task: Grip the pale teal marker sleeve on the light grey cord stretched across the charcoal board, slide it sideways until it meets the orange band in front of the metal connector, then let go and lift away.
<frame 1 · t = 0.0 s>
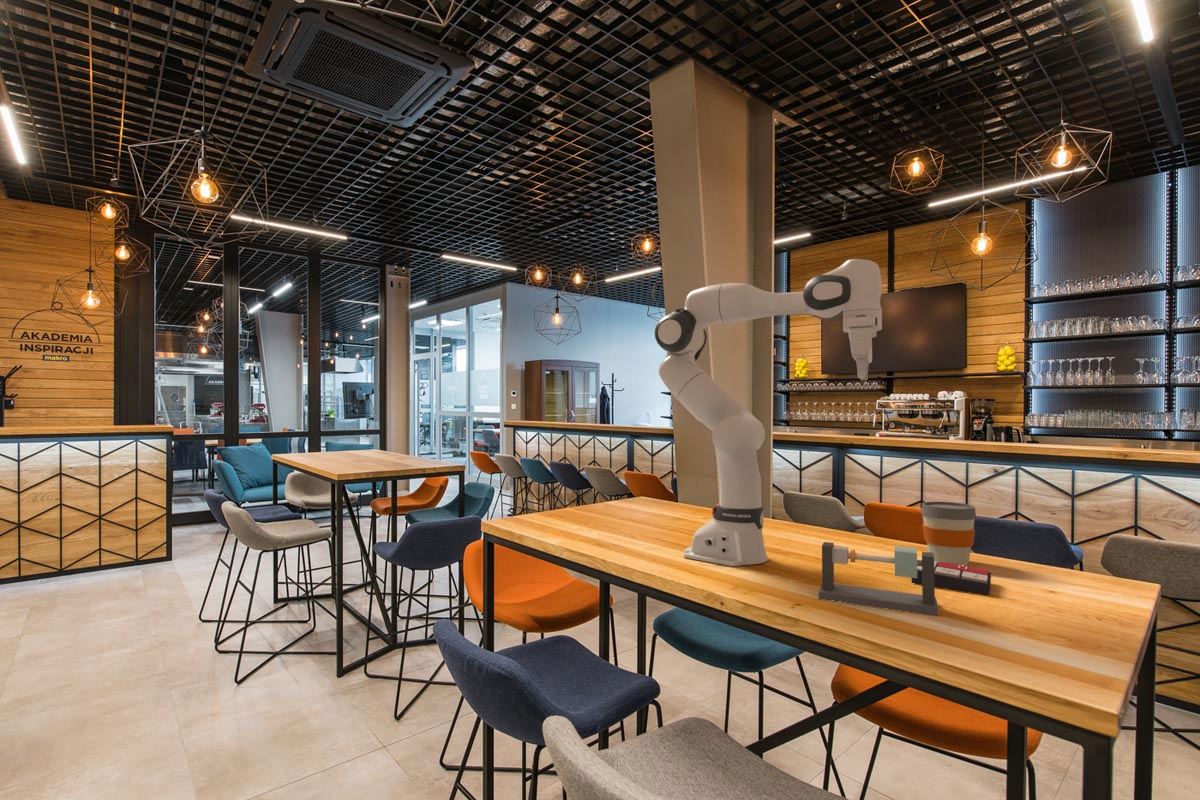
hand: (862, 379, 142), 48 cm above the table, tool pointing down, fingers open, 8 cm apart
cord board: (876, 601, 120), on the table
reusable coffee cup: (948, 562, 152), on the table
calculator: (951, 586, 133), on the table
marker sleeve: (905, 561, 118), point 9 cm above the table, slide at 5.5 cm
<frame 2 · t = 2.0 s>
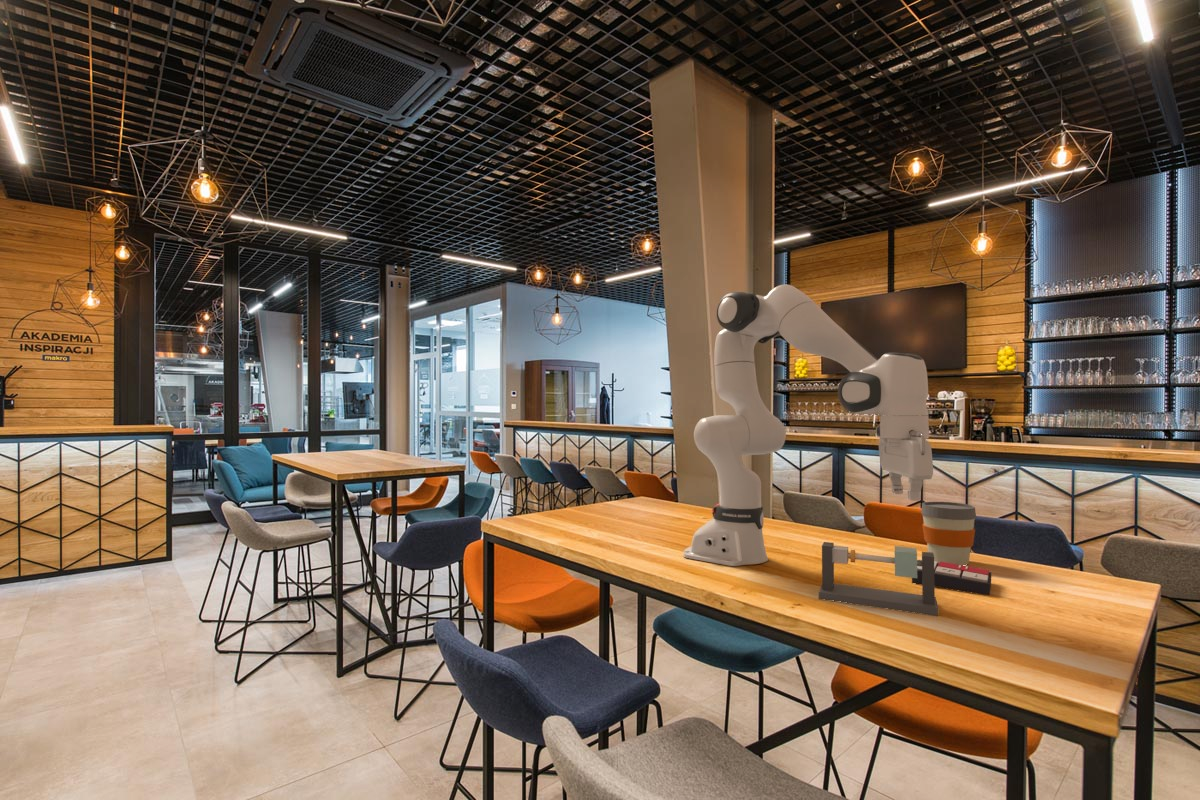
hand: (905, 496, 118), 22 cm above the table, tool pointing down, fingers open, 8 cm apart
nothing on the table moved.
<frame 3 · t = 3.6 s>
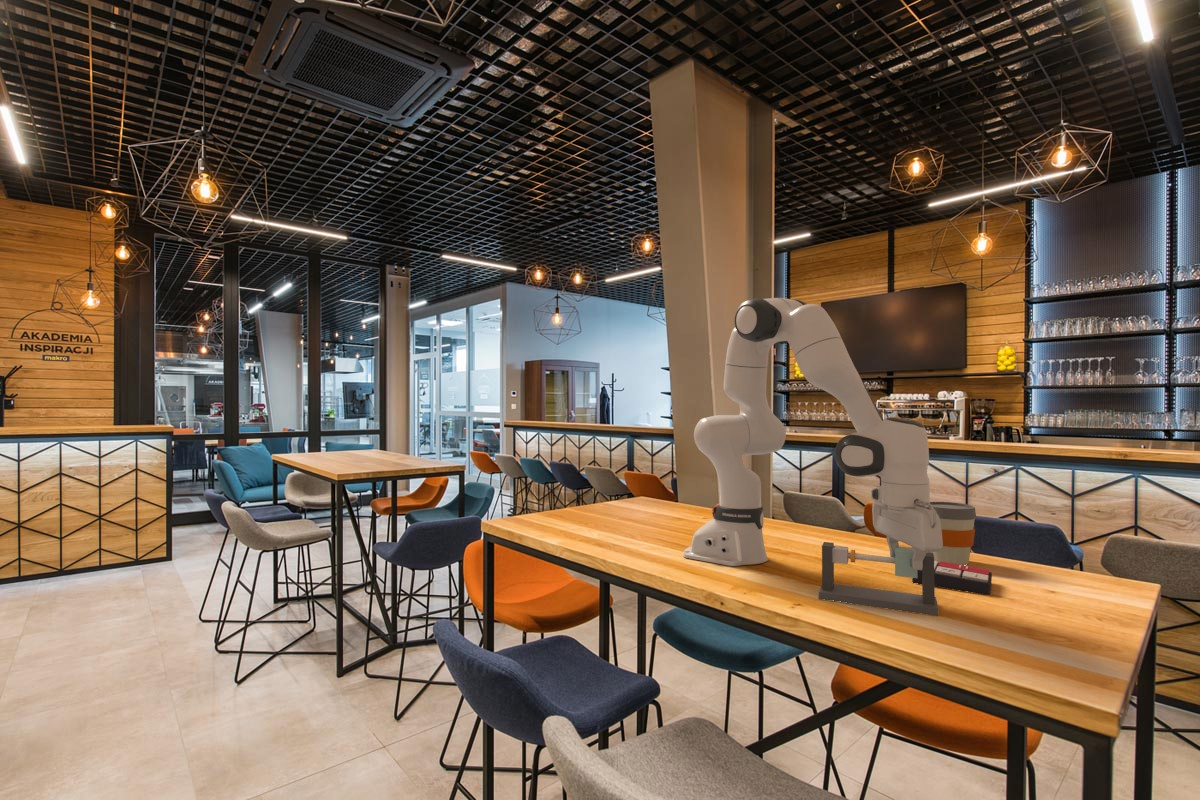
hand: (905, 563, 118), 9 cm above the table, tool pointing down, fingers closed on marker sleeve, 6 cm apart
marker sleeve: (905, 561, 118), point 9 cm above the table, slide at 5.5 cm, touching gripper
everything else where it was.
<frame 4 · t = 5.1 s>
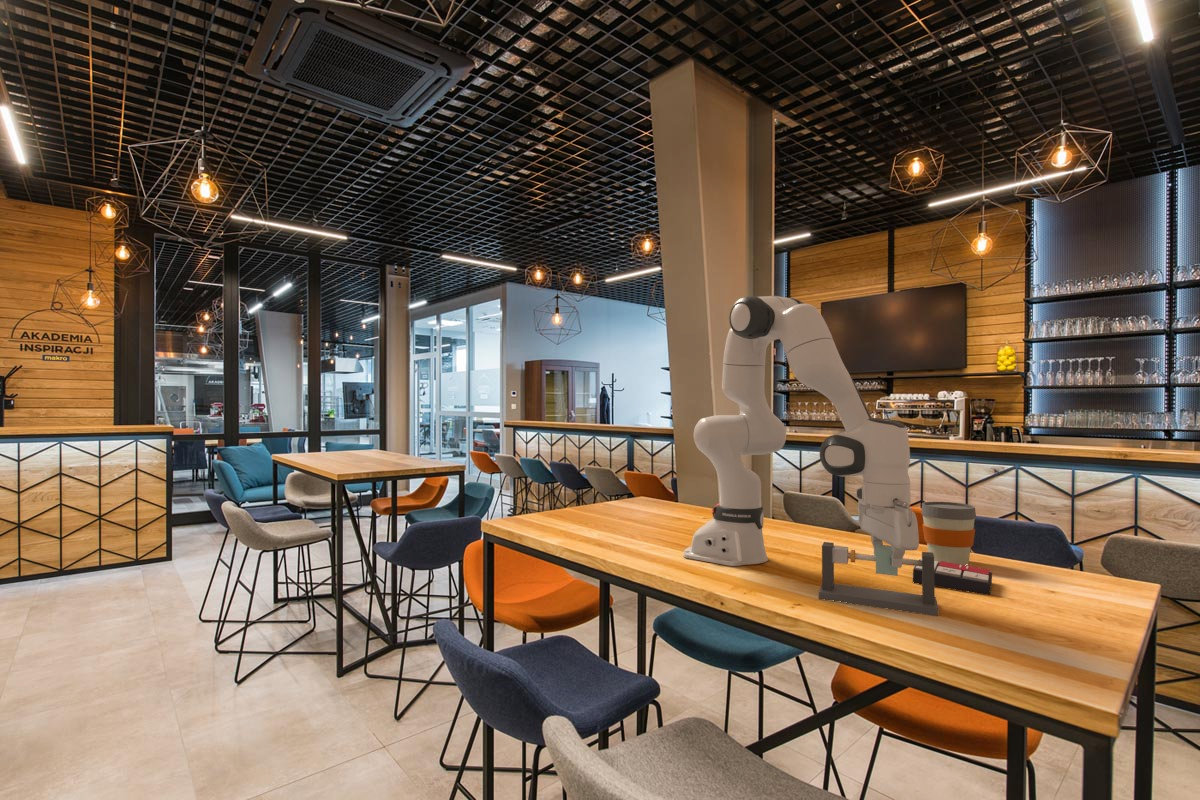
hand: (887, 561, 120), 9 cm above the table, tool pointing down, fingers closed on marker sleeve, 6 cm apart
marker sleeve: (886, 559, 120), point 9 cm above the table, slide at 2.0 cm, touching gripper
everything else where it was.
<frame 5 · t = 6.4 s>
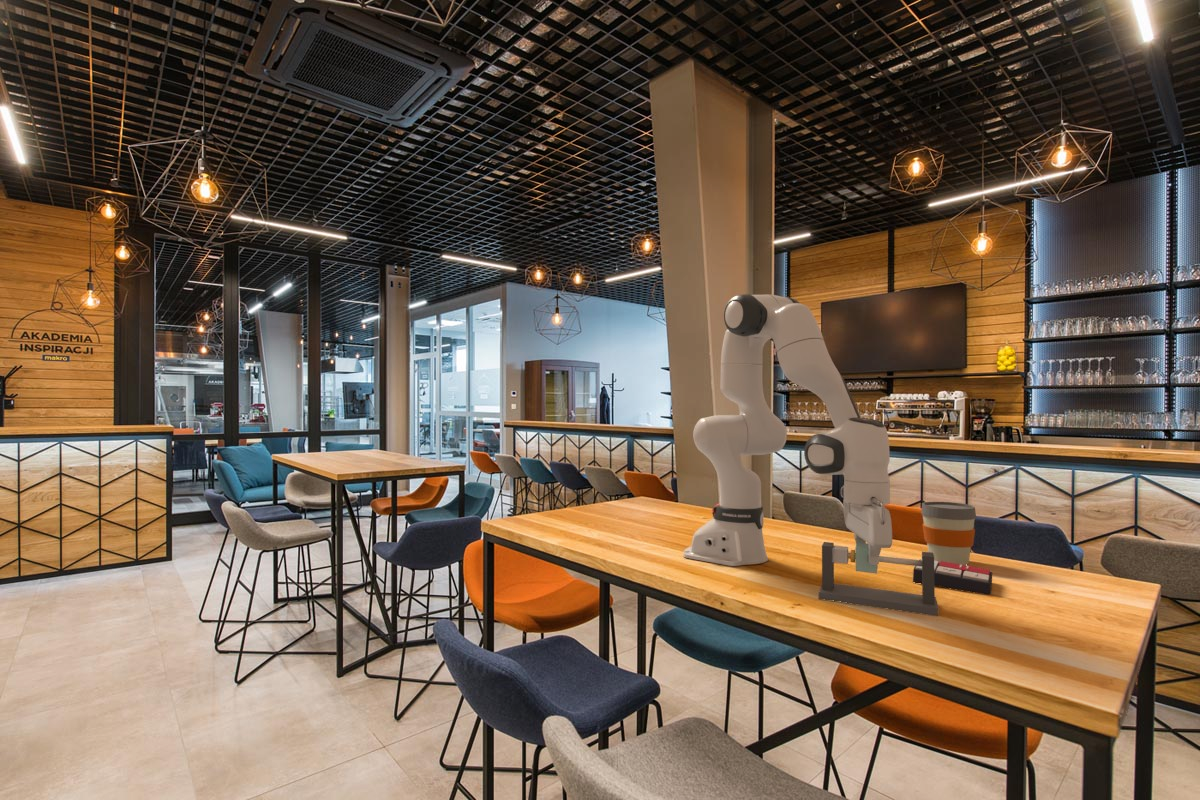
hand: (867, 559, 121), 9 cm above the table, tool pointing down, fingers closed on marker sleeve, 6 cm apart
marker sleeve: (866, 557, 121), point 9 cm above the table, slide at -1.8 cm, touching gripper
everything else where it was.
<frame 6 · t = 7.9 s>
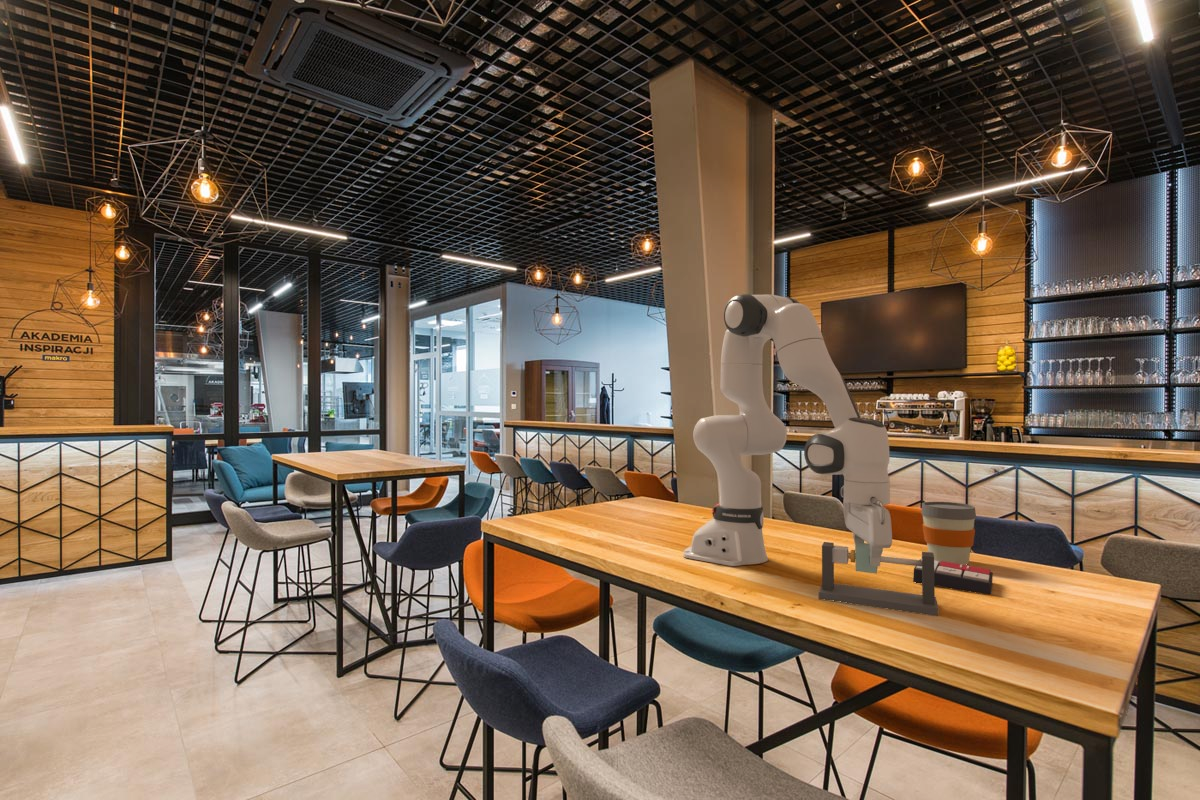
hand: (867, 559, 121), 9 cm above the table, tool pointing down, fingers open, 8 cm apart
marker sleeve: (866, 557, 121), point 9 cm above the table, slide at -1.8 cm
everything else where it was.
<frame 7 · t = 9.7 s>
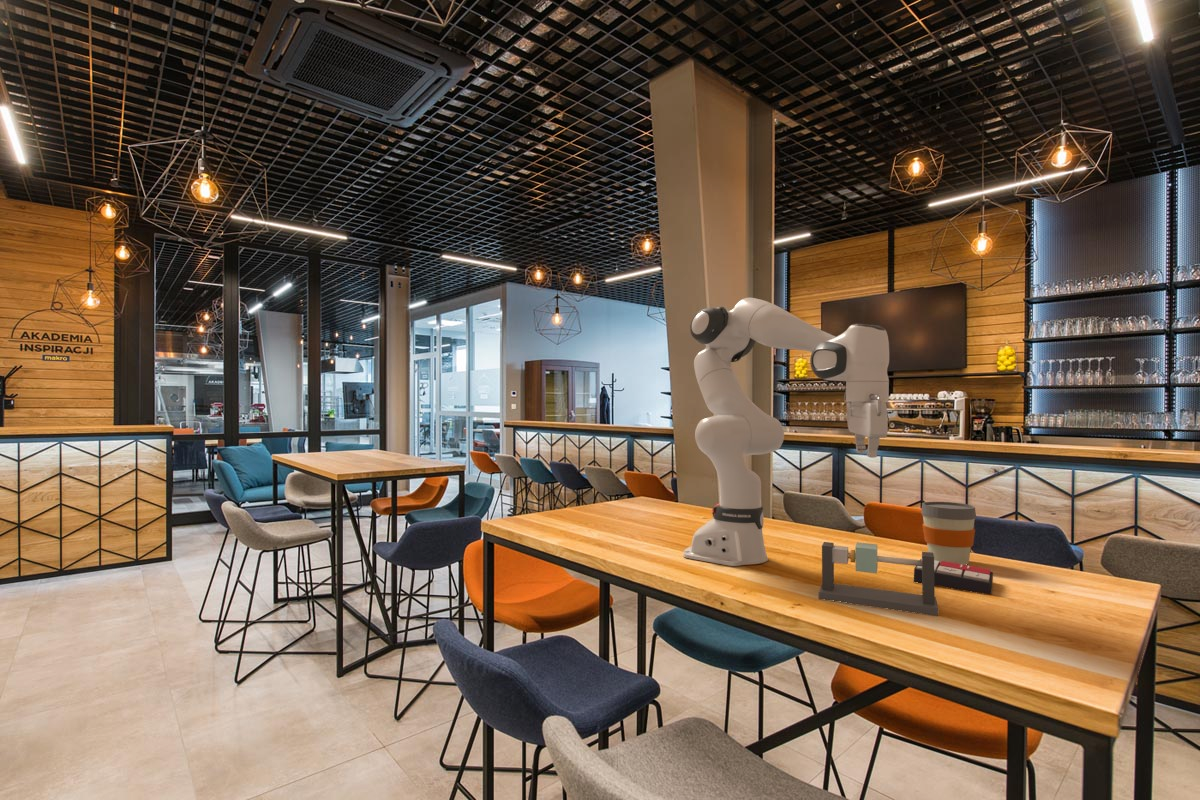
hand: (866, 455, 130), 30 cm above the table, tool pointing down, fingers open, 8 cm apart
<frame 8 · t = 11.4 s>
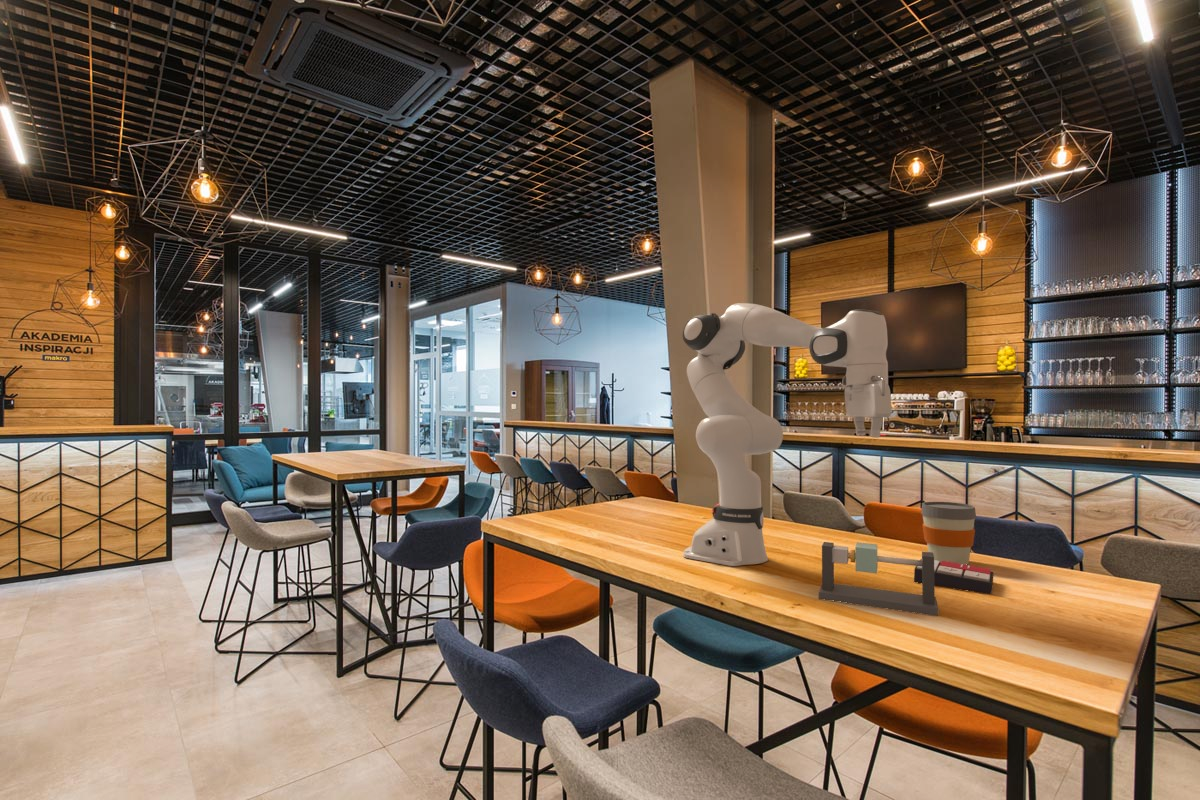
hand: (867, 436, 134), 34 cm above the table, tool pointing down, fingers open, 8 cm apart
at the end: marker sleeve slide at -1.8 cm; the gripper is holding nothing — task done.
